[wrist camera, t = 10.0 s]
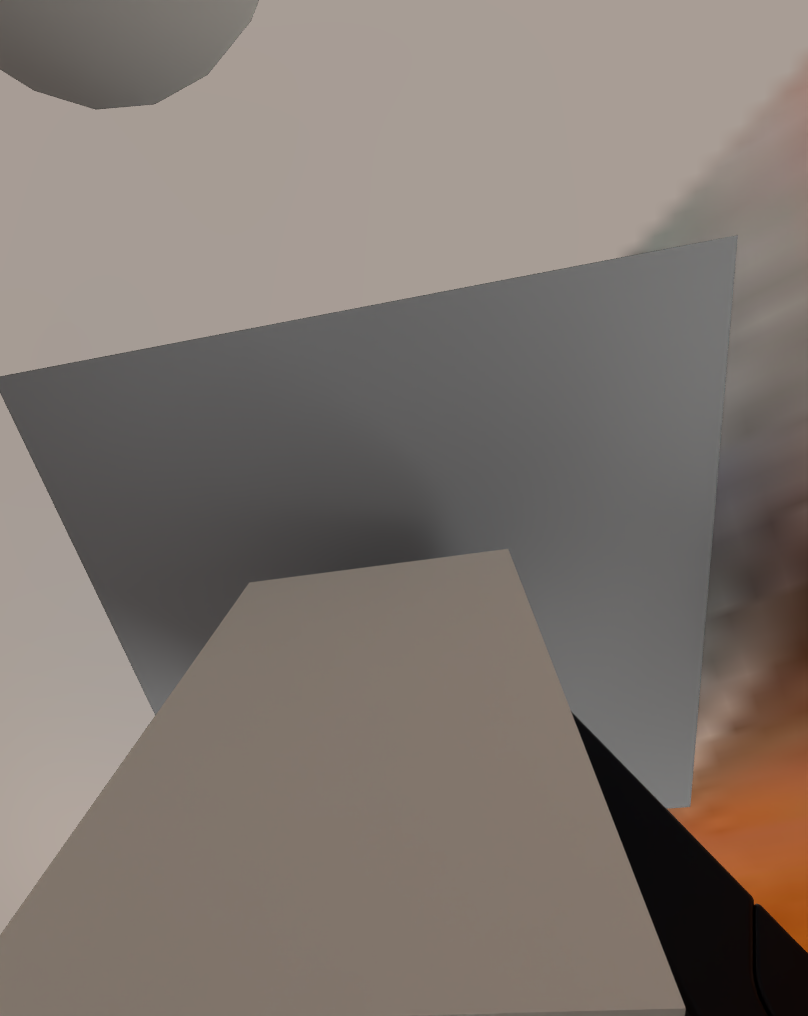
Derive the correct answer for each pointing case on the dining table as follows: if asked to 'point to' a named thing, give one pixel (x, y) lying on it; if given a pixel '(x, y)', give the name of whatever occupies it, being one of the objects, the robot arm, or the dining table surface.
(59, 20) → the can
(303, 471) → the base board
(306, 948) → the block
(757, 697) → the dining table surface
